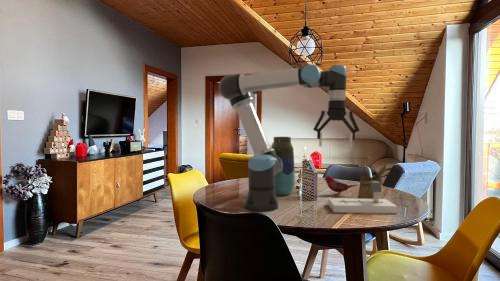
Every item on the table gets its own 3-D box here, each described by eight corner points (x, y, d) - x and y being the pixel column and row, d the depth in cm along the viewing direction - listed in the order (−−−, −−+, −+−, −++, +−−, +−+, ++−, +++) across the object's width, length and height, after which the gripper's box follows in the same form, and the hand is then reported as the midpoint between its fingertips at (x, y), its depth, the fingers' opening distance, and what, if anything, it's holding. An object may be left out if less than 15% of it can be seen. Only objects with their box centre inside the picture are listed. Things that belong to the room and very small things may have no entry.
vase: (266, 195, 170) (266, 137, 169) (272, 190, 183) (272, 136, 182) (292, 197, 166) (292, 137, 165) (296, 192, 179) (296, 136, 178)
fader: (374, 202, 138) (374, 182, 138) (370, 200, 143) (370, 180, 143) (381, 202, 138) (381, 182, 137) (377, 200, 143) (377, 181, 142)
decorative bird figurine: (324, 193, 175) (324, 175, 174) (358, 195, 168) (358, 177, 168) (323, 194, 172) (323, 176, 172) (357, 196, 165) (358, 177, 165)
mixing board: (333, 212, 135) (333, 205, 135) (328, 204, 149) (328, 198, 149) (397, 213, 133) (397, 205, 133) (385, 205, 147) (385, 198, 147)
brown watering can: (388, 202, 152) (388, 165, 151) (358, 201, 155) (358, 164, 155) (384, 198, 161) (385, 163, 160) (356, 197, 164) (356, 162, 163)
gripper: (310, 99, 142) (308, 146, 143) (367, 99, 140) (365, 147, 141) (308, 100, 150) (307, 145, 151) (362, 101, 148) (361, 146, 149)
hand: (335, 146), depth 146 cm, fingers open, 13 cm apart
